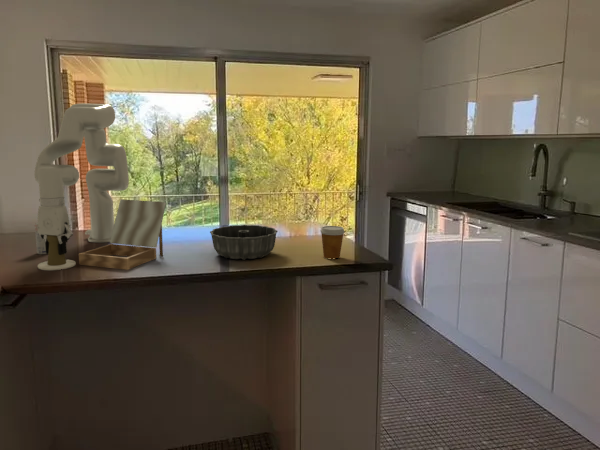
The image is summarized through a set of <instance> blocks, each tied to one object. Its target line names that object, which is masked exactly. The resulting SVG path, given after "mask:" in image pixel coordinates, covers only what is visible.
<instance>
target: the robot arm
mask: <svg viewBox="0 0 600 450" xmlns="http://www.w3.org/2000/svg"><path fill="white" fill-rule="evenodd" d="M113 107H114V106H112V105H110V104H106V103H86V102H85V103H75V104H72V105H70V107H68V108H67V109H66V110H65V111H64V113H63V116H62V121H61V124H60V128H59V132H58V135H57V138H56V139H54V140H53V141H52V142H51V143H49V144H48V145H47V146H46V147H44V148H43V150H42V151H41V152H40V153H39V155H38V157H37V161H36V164H35V168H34V178H35V181H36V183H38V189H39V191H38V192H39V199H38V201H39V203H40V206H38V211H37V222H38V231H37V233H38V234H39V235H40V236H41V237H42V239H43V241H44V242H45V247H46V253H47V254H46V255H48V251H49V242H48V240H47V236H48V235H51V236H57V237H58V240H59V243H60V244H58V253H59V255H62V254H67V250H68V249H67V243H68V241H69V240H70V239H71V238H72V237H73V236H74V233H73V232H72V230H71V227H70V225H71V224H70V218H69V213H68V209H67V206H66V203H65V202H66V201H65V189H64V187H71V186H75V184H77V183H78V181H79V179H80V172H79V169H77V168H76V167H75V165H72V164H56V163H55V164H53V163H54V162H55V161H56V160H57V159H59V158H60V157H63V156H66V155H68V154H71V153H74V152H76V151H78V150H79V149H81V147H82V146H83V142H84V145H85V155H86V160H87V163H88V164H89V165H91V166H95V167H113V168H93V169H90V170H87V172H86V174H85V183H86V186H87V187H86V188H87V190H88V197H89V199H88V200H89V214H90V229H87V230H86V231H85V232H84V234H85V235H89V236H88V238H87V241H88V242H90V243H95V244H96V243H97V244H99V243H100V244H101V243H103V244H104V243H110V241H111V236H112V232H113V228H114V224H115V216H114V215H115V213H114V200H113V198H112V196H111V194H110V193H109V191H110V192H118V191H120V192H122V191H125V190H127V189H128V188H129V186H130V185H129V184H130V180H129V179H130V176H129V167H128V166H129V165H128V158H127V153H126V149H125V147H124V146H123V145H122V144H119V143H108V141H107V135H106V130H105V129H106V128H108V127H110V126H113V124H114V122H115V121H116V111H115V109H114V108H113ZM61 236H63V238H62V237H61Z"/></svg>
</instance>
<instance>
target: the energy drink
mask: <svg viewBox="0 0 600 450" xmlns="http://www.w3.org/2000/svg"><path fill="white" fill-rule="evenodd" d="M34 231H35V232H34V233H35V243H36V244H35V245H36V253H37V255H48V254H47V253H46V247H45V242H44V241H43V239H42V237H41V236H40V235H39V234H38V233H37V231H38V221H37V222H35V225H34Z"/></svg>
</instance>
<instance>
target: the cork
mask: <svg viewBox="0 0 600 450" xmlns="http://www.w3.org/2000/svg"><path fill="white" fill-rule="evenodd" d="M61 237H62V238H63V236H61ZM47 240H48V242H49V251H48V254H47V261H48V263H47V264H48V265H52V266H55V265H63V264H66V260H67V259H66V255H65V254H62V255H59V253H58V244H60V243H59V240H58V237H57V236H51V235H48V236H47Z"/></svg>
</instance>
